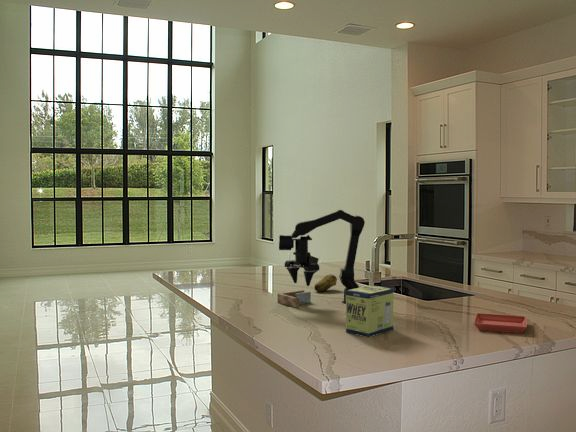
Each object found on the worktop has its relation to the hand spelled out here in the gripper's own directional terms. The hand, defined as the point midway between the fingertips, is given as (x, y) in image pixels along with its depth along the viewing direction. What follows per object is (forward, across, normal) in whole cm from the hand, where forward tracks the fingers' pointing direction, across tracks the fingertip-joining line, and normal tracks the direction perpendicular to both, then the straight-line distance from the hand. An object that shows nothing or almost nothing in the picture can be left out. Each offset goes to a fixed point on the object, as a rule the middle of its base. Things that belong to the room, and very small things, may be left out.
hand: (301, 284), depth 261 cm
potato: (+9, +17, -28) cm, 34 cm away
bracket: (+9, +2, 0) cm, 9 cm away
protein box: (+9, -54, +11) cm, 56 cm away
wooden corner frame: (+8, +1, 0) cm, 9 cm away
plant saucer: (+9, -80, -31) cm, 87 cm away
